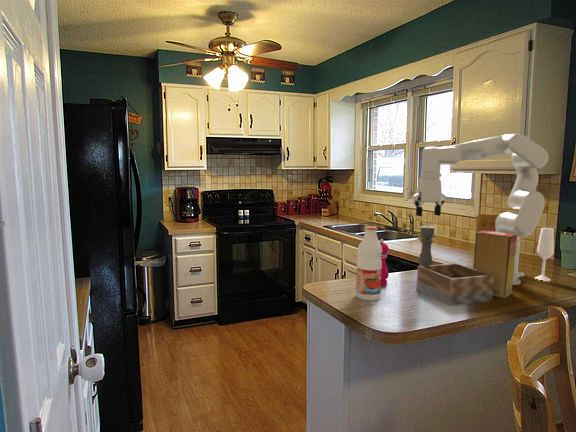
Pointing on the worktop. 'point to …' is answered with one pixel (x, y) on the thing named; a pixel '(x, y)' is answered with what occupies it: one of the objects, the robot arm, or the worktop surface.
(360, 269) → the fruit juice
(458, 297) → the open box
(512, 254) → the food packaging
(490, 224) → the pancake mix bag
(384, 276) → the pepper mill
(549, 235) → the champagne flute
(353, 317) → the worktop surface
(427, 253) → the candle holder
